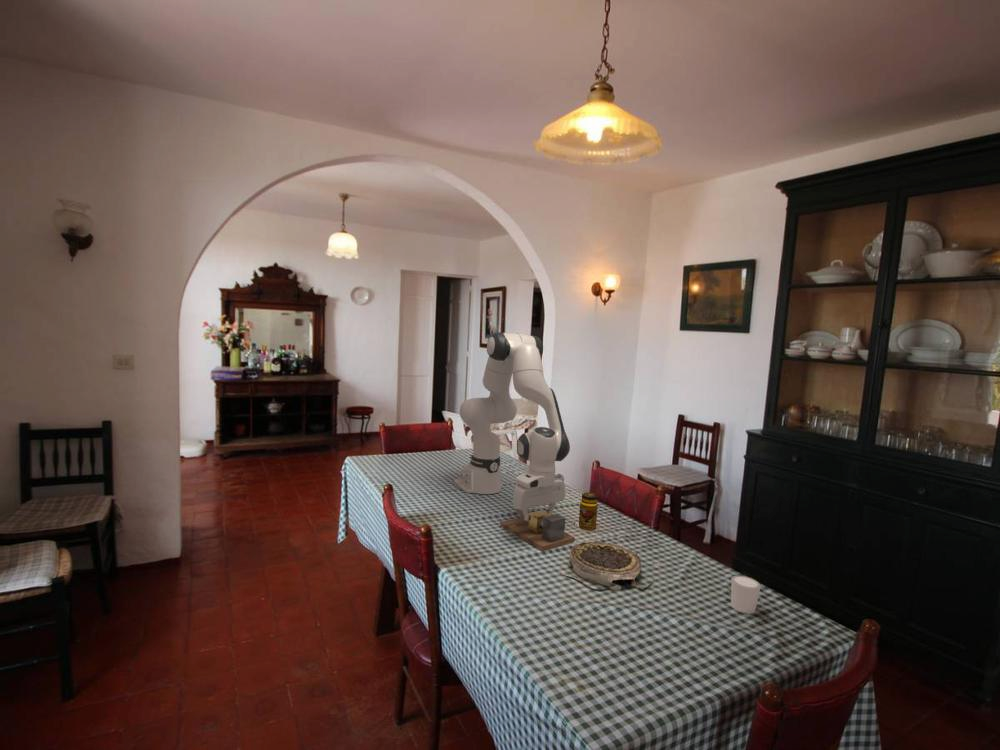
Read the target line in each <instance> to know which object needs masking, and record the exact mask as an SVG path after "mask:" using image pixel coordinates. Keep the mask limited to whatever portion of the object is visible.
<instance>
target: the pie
mask: <svg viewBox="0 0 1000 750" xmlns="http://www.w3.org/2000/svg"><path fill="white" fill-rule="evenodd" d="M568 558H569V559H570V563H571V564H572V568H570V570H571V572H573V573H574V574H575V575H578V576H579V577H581V579H584V580H586V581H589V582H593V583H597V584H601V585H604V586H607V587H606V589H609V590H613V591H614V590H615V591H616V590H620V591H621V590H622V588H623V587H622V586H621V585H619V584H616V583H613V581H618V580H619V581H620V580H623V581H625V580H627V581H628V580H631V581H630V585H631V587H633V588H635V589H641V590H644V589H648V588H649V587H650V586H651V585H653V583H654V581H653V582H651V583H649V584H648V585H646V587H644V586H641V585H638V584H636V582H635V579H636V578H637V576H638V575H639V574H640V572H641V569H642V564H641V563H642V559H641V558H640V555H638V553H637V552H636V551H633V550H631V549H627V548H624V547H623V546H622V545H621V546H620V545H618V544H615V543H611V542H608V543H607V542H606V541H604V542H602V541H590V542H585V541H584V542H580V543H577V544H575V545H573V546H572V548H570V550H569V554H568ZM558 564H559V565H560V564H561V562H559V563H558ZM558 572H560V574H561V575H563V576H566V577H569V578H570V577H571V578H574V579H575V580H578V582H580V581H579V579H578V578H576V577H575V576H573V575H574V574H572V575H569V574H568V575H567V574H565V573H563V572H561V571H558ZM583 584H584V585H586V587H589V588H590V589H592V587H590V585H588V584H587V583H586V582H585V583H584V582H583ZM595 590H597V591H598V589H595ZM602 590H604V588H602V589H601V591H602Z"/></svg>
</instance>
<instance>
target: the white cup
mask: <svg viewBox="0 0 1000 750" xmlns="http://www.w3.org/2000/svg"><path fill="white" fill-rule="evenodd" d="M730 579H731V582H730V583H731V586H730V587H731V591H730V592H731V593H730V596H731V597H730V599H731V600H730V602H731V603H730V605H731V607H732V608H733V609H734V610H735V611H738V612H740V613H743V614H747V615H750V614H754V613H756V610H757V609H756V608H757V605H758V600H759V597H760V596H759V595H760V591H761V585H762V584H760V582H759V581H757V580H755V579H754V578H752V577H749V576H744V575H734V576H732V577H731V578H730Z"/></svg>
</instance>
